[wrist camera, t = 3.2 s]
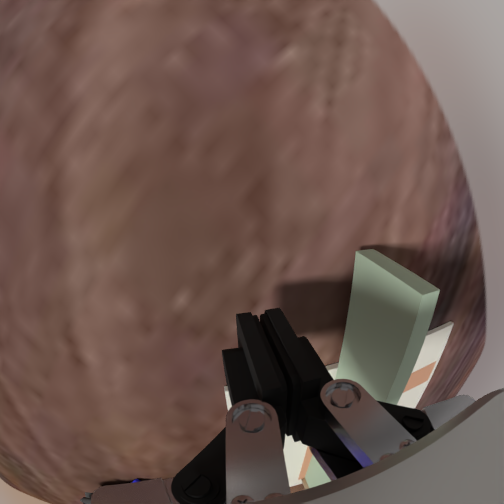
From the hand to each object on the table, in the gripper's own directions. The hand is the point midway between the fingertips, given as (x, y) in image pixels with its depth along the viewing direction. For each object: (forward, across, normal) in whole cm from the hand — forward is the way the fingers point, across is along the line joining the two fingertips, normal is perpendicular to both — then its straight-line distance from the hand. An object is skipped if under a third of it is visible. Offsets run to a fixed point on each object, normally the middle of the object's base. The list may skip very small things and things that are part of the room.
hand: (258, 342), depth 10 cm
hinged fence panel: (+2, -5, +4) cm, 7 cm away
